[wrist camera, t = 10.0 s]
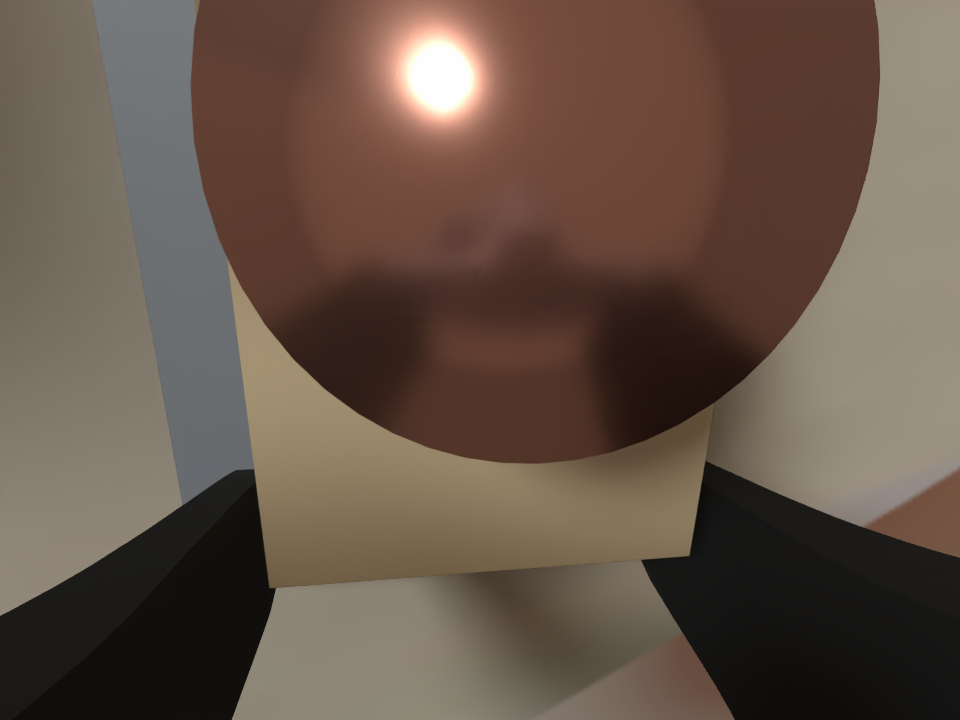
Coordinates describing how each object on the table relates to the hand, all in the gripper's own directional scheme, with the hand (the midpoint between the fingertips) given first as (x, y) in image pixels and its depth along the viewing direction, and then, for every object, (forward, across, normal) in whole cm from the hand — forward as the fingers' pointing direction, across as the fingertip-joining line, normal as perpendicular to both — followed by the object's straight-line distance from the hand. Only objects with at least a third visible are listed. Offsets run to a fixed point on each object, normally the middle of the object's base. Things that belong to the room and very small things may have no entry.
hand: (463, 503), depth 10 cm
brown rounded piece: (-3, 0, -6) cm, 7 cm away
